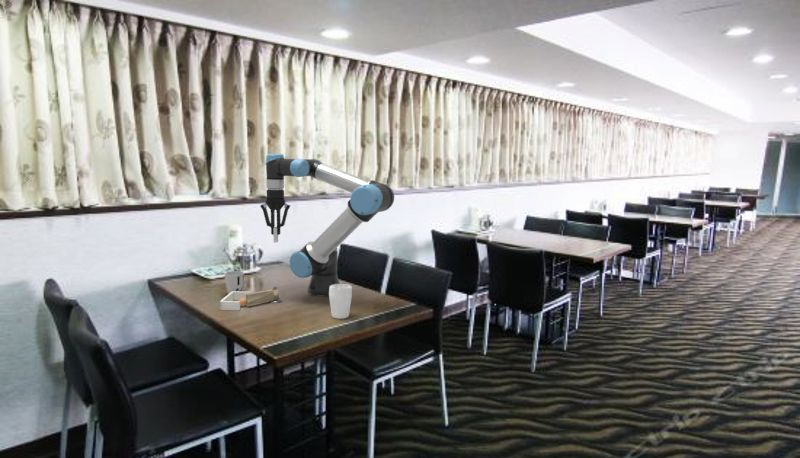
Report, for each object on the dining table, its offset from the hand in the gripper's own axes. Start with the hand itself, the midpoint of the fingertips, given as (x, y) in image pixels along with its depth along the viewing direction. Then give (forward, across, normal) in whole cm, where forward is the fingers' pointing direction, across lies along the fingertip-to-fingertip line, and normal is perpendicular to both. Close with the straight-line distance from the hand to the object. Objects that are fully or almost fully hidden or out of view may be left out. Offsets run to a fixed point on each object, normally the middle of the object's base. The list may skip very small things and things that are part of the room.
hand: (275, 241), depth 207 cm
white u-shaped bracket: (+24, +14, +16) cm, 32 cm away
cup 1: (+24, +18, +2) cm, 30 cm away
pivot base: (+24, -1, +11) cm, 27 cm away
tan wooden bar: (+23, +3, +15) cm, 28 cm away
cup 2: (+24, -30, +31) cm, 50 cm away
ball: (+22, +11, +18) cm, 31 cm away
